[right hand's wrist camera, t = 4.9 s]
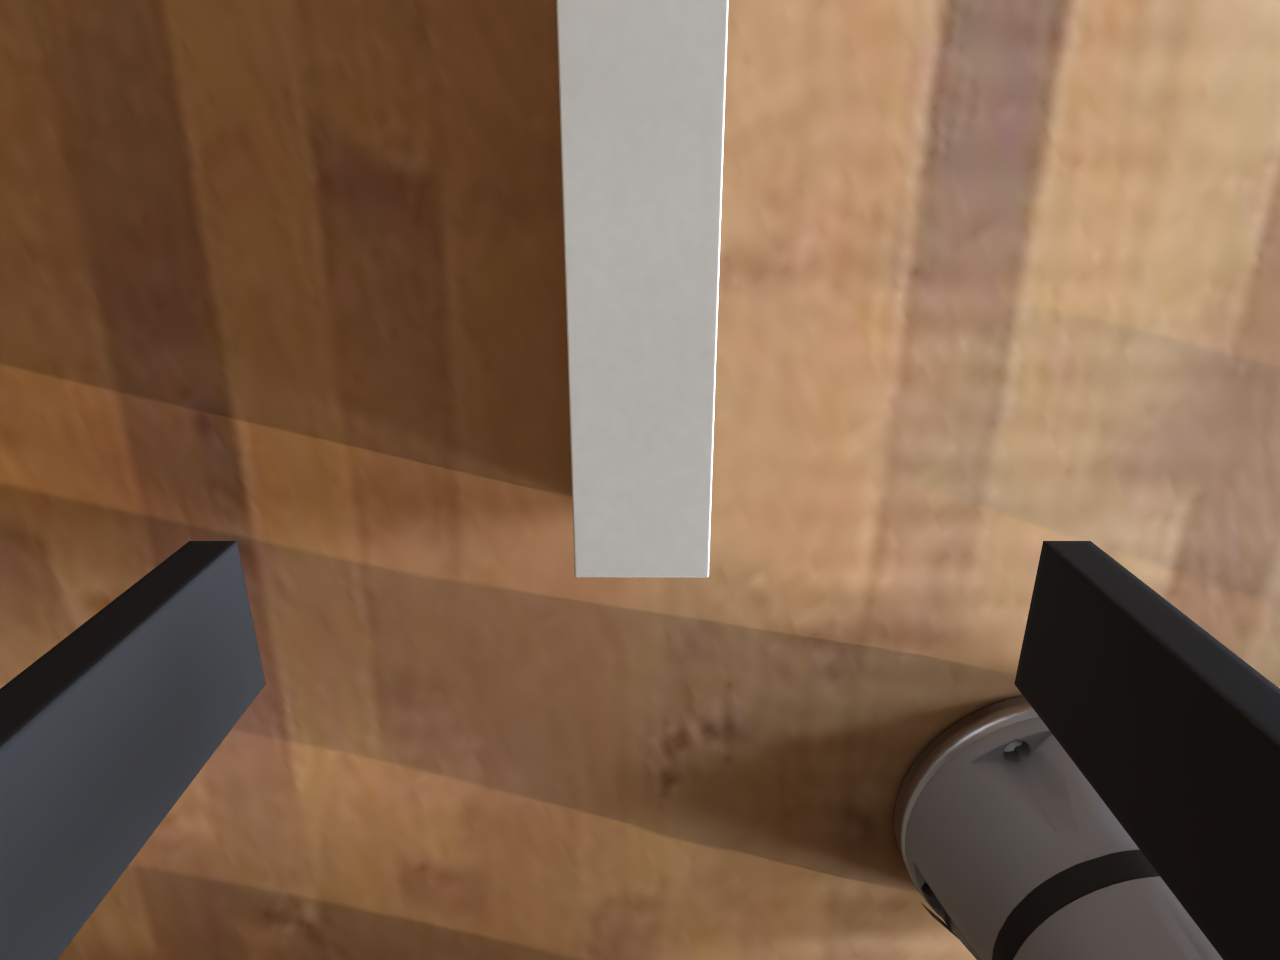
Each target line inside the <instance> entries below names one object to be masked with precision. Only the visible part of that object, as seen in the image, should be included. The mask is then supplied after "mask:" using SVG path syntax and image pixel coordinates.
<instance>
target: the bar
mask: <svg viewBox="0 0 1280 960" xmlns="http://www.w3.org/2000/svg"><path fill="white" fill-rule="evenodd" d="M556 12H557V43H558V74H559V105H560V135H561V166H562V197H563V227H564V258H565V289H566V320H567V350H568V381H569V412H570V442H571V473H572V504H573V535H574V565H575V577H708V576H709V553H710V524H711V494H712V465H713V436H714V407H715V378H716V349H717V320H718V291H719V262H720V233H721V203H722V174H723V145H724V116H725V87H726V58H727V29H728V0H556Z"/></svg>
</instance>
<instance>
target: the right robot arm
mask: <svg viewBox="0 0 1280 960" xmlns="http://www.w3.org/2000/svg"><path fill="white" fill-rule="evenodd" d="M264 685H265V679H264V674H263V669H262V664H261V660H260V655H259V650H258V645H257V640H256V635H255V630H254V625H253V620H252V615H251V610H250V605H249V600H248V595H247V590H246V585H245V580H244V575H243V570H242V565H241V560H240V555H239V550H238V545H237V541H189V542H188V543H187V544H185V545H184V546H183V547H181V548H180V549H179V550H178V551H176V552H175V553H174V554H172V555H171V556H170V557H169V558H167V559H166V560H165V561H163V562H162V563H161V564H160V565H158V566H157V567H156V568H155V569H153V570H152V571H151V572H149V573H148V574H147V575H146V576H144V577H143V578H142V579H140V580H139V581H138V582H137V583H135V584H134V585H133V586H131V587H130V588H129V589H128V590H126V591H125V592H124V593H123V594H121V595H120V596H119V597H117V598H116V599H115V600H114V601H112V602H111V603H110V604H108V605H107V606H106V607H105V608H103V609H102V610H101V611H100V612H98V613H97V614H96V615H94V616H93V617H92V618H91V619H89V620H88V621H87V622H85V623H84V624H83V625H82V626H80V627H79V628H78V629H76V630H75V631H74V632H73V633H71V634H70V635H69V636H68V637H66V638H65V639H64V640H62V641H61V642H60V643H59V644H57V645H56V646H55V647H53V648H52V649H51V650H50V651H48V652H47V653H46V654H44V655H43V656H42V657H41V658H39V659H38V660H37V661H36V662H34V663H33V664H32V665H30V666H29V667H28V668H27V669H25V670H24V671H23V672H21V673H20V674H19V675H18V676H16V677H15V678H14V679H12V680H11V681H10V682H9V683H7V684H6V685H5V686H4V687H2V688H1V689H0V960H57V959H58V958H59V956H60V955H61V954H62V952H63V951H64V950H65V948H66V947H67V946H68V944H69V943H70V942H71V940H72V939H73V938H74V936H75V935H76V934H77V932H78V931H79V930H80V928H81V927H82V926H83V925H84V923H85V922H86V921H87V919H88V918H89V917H90V915H91V914H92V913H93V911H94V910H95V909H96V907H97V906H98V905H99V903H100V902H101V901H102V899H103V898H104V897H105V895H106V894H107V893H108V891H109V890H110V889H111V888H112V886H113V885H114V884H115V882H116V881H117V880H118V878H119V877H120V876H121V874H122V873H123V872H124V870H125V869H126V868H127V866H128V865H129V864H130V862H131V861H132V860H133V858H134V857H135V856H136V854H137V853H138V852H139V851H140V849H141V848H142V847H143V845H144V844H145V843H146V841H147V840H148V839H149V837H150V836H151V835H152V833H153V832H154V831H155V829H156V828H157V827H158V825H159V824H160V823H161V821H162V820H163V819H164V817H165V816H166V815H167V814H168V812H169V811H170V810H171V808H172V807H173V806H174V804H175V803H176V802H177V800H178V799H179V798H180V796H181V795H182V794H183V792H184V791H185V790H186V788H187V787H188V786H189V784H190V783H191V782H192V780H193V779H194V778H195V777H196V775H197V774H198V773H199V771H200V770H201V769H202V767H203V766H204V765H205V763H206V762H207V761H208V759H209V758H210V757H211V755H212V754H213V753H214V751H215V750H216V749H217V747H218V746H219V745H220V743H221V742H222V741H223V740H224V738H225V737H226V736H227V734H228V733H229V732H230V730H231V729H232V728H233V726H234V725H235V724H236V722H237V721H238V720H239V718H240V717H241V716H242V714H243V713H244V712H245V710H246V709H247V708H248V706H249V705H250V704H251V703H252V701H253V700H254V699H255V697H256V696H257V695H258V693H259V692H260V691H261V689H262V688H263V687H264ZM1015 685H1016V687H1017V688H1018V689H1019V691H1020V692H1021V693H1022V695H1023V696H1020V697H1016V698H1012V699H1008V700H1005V701H1001V702H999V703H996V704H993V705H990V706H988V707H985V708H983V709H981V710H979V711H976V712H974V713H973V714H971V715H969V716H967V717H965V718H963V719H962V720H960V721H959V722H957V723H955V724H954V725H952V726H951V727H950V728H948V729H947V730H946V731H944V732H943V733H942V734H940V735H939V736H938V737H937V738H936V739H935V740H934V741H933V742H932V743H930V744H929V745H928V747H927V748H926V749H925V750H924V751H923V752H922V753H921V754H920V756H919V757H918V758H917V760H916V761H915V762H914V763H913V765H912V767H911V768H910V770H909V771H908V773H907V775H906V777H905V779H904V781H903V783H902V785H901V788H900V791H899V794H898V797H897V801H896V806H895V814H894V829H895V835H896V840H897V844H898V847H899V850H900V852H901V855H902V857H903V860H904V862H905V865H906V868H907V870H908V872H909V875H910V877H911V879H912V882H913V883H914V885H915V887H916V888H917V890H918V891H919V892H920V894H921V895H922V896H923V898H924V899H925V900H926V901H927V903H928V904H929V905H930V906H931V907H932V908H933V909H934V911H935V912H936V913H937V914H938V915H939V916H940V917H942V918H943V920H944V921H945V922H946V924H947V925H948V926H947V925H946V924H945V923H944V922H943V921H942V920H941V919H939V918H938V917H937V916H936V915H935V914H934V913H932V912H931V911H930V910H929V909H928V908H927V907H925V906H924V905H923V904H922V905H923V906H924V907H925V908H926V909H927V910H928V912H929V913H930V914H931V915H932V916H933V917H934V918H935V919H936V920H937V921H939V922H940V923H941V924H942V925H943V926H944V927H946V928H947V929H948V930H949V931H950V932H951V933H953V934H954V935H955V936H956V937H957V938H958V939H959V940H960V941H961V942H962V943H963V944H964V945H965V946H966V948H967V949H968V950H969V951H970V952H971V953H972V954H973V956H974V957H975V958H976V959H977V960H1280V689H1279V688H1278V687H1276V686H1275V685H1274V684H1273V683H1271V682H1270V681H1269V680H1268V679H1266V678H1265V677H1264V676H1262V675H1261V674H1260V673H1259V672H1257V671H1256V670H1255V669H1253V668H1252V667H1251V666H1250V665H1248V664H1247V663H1246V662H1244V661H1243V660H1242V659H1241V658H1239V657H1238V656H1237V655H1236V654H1234V653H1233V652H1232V651H1230V650H1229V649H1228V648H1227V647H1225V646H1224V645H1223V644H1221V643H1220V642H1219V641H1218V640H1216V639H1215V638H1214V637H1212V636H1211V635H1210V634H1209V633H1207V632H1206V631H1205V630H1204V629H1202V628H1201V627H1200V626H1198V625H1197V624H1196V623H1195V622H1193V621H1192V620H1191V619H1189V618H1188V617H1187V616H1186V615H1184V614H1183V613H1182V612H1180V611H1179V610H1178V609H1177V608H1175V607H1174V606H1173V605H1172V604H1170V603H1169V602H1168V601H1166V600H1165V599H1164V598H1163V597H1161V596H1160V595H1159V594H1157V593H1156V592H1155V591H1154V590H1152V589H1151V588H1150V587H1149V586H1147V585H1146V584H1145V583H1143V582H1142V581H1141V580H1140V579H1138V578H1137V577H1136V576H1134V575H1133V574H1132V573H1131V572H1129V571H1128V570H1127V569H1125V568H1124V567H1123V566H1122V565H1120V564H1119V563H1118V562H1117V561H1115V560H1114V559H1113V558H1111V557H1110V556H1109V555H1108V554H1106V553H1105V552H1104V551H1102V550H1101V549H1100V548H1099V547H1097V546H1096V545H1095V544H1093V543H1092V542H1091V541H1043V545H1042V550H1041V555H1040V560H1039V565H1038V570H1037V575H1036V580H1035V585H1034V590H1033V595H1032V600H1031V605H1030V610H1029V615H1028V620H1027V625H1026V630H1025V635H1024V640H1023V645H1022V650H1021V655H1020V660H1019V664H1018V669H1017V674H1016V679H1015Z"/></svg>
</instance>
